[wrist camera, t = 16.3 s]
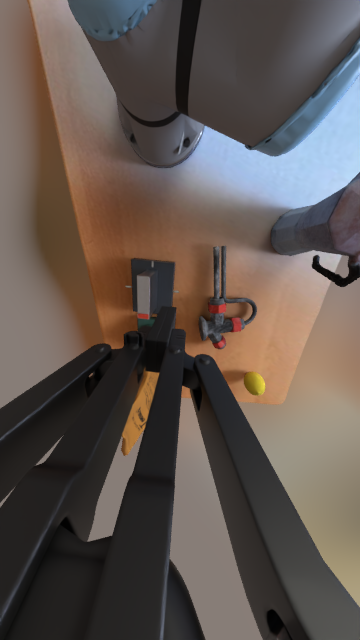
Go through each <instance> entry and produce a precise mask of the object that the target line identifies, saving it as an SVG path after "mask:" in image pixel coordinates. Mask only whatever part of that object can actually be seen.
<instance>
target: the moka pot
mask: <svg viewBox="0 0 360 640" xmlns="http://www.w3.org/2000/svg"><path fill="white" fill-rule="evenodd" d="M271 244H272V246H273V248H274V249H275V250H276V251H277V252H278V253H279V254H283V255H289V256H292V255H296V254H300V253H304V252H308V251H312V250H315V251H321V252H326V253H334V254H340V255H347V256H349V260H348V267H349V274H348V276H347V277H346V278H342V277H341V276H340V275H339V274H335V273H333V272H331V271H330V270H328V269H325V268H323V267H322V266H321V265H320V264H319V258H320V257H319V256H318V255H316V256H314V257H313V264H312V268H313V269H315V270H316V271H317V272H319V273H321V274H322V275H323V276H325V277H327V278H328V279H329V280H331V281H333V282H335V284H336V285H338V286H340V287H345V286H347V285H348V284H350V283H352V282H353V281H354V280H357V278H359V277H360V173H359V174H358V175H357V176H356V177H355V178H354V179H353V180H352V181H351V182H350V183H349V184H348V185H347V186H345V187H344V188H342V189H341V190H339V191H338V192H336V193H334V194H332V195H331V196H329V197H327V198H326V199H324V200H322V201H321V202H319V203H317V204H316V205H311V206H306V207H302V208H297V209H293V210H291V211H289V212H287V213H286V214H284V215H282V216H281V217H280V218H279V219H278V220H277V222H276V223H275V225H274V227H273V228H272V232H271Z"/></svg>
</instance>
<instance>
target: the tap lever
mask: <svg viewBox="0 0 360 640" xmlns="http://www.w3.org/2000/svg"><path fill="white" fill-rule="evenodd" d="M157 280H158V271H155V270H146V271H144V272H143V273H141V274H139V275H137V303H138V318H140V319H150V317H151V315H152V314H153V312H154V310H155V309H156V307H157Z"/></svg>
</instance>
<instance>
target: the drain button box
mask: <svg viewBox="0 0 360 640" xmlns="http://www.w3.org/2000/svg"><path fill="white" fill-rule="evenodd" d="M155 319H156V317H150V319H140V318H138V330H139V328H141V327H142V326H151V327H152V325H153V323H154V321H155Z"/></svg>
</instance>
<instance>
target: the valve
mask: <svg viewBox="0 0 360 640" xmlns="http://www.w3.org/2000/svg"><path fill="white" fill-rule="evenodd" d="M213 256H214V297H212V298H211V299H210V302H209V303H208V308H209V312H210V316H211V321H205V319H204V318H203V316H200V317H199V330H200V336H201V339H202V341H205V340H206V337H207V335H208V337H209V338H210V340H211V341H212V344H213V345H214V347H215V348H217V349H223V348H224V347H225V346H226V341H225V338H224V337H223V336H221V334H220V333H225V332H238V331H241V330H242V329H244V327H245V325H247V324H249V323H250V322H251V321H252V320H253V319H254V318H255V316H256V312H257V307H256V305H255V303H254V302H253V301H252V300H250V299H248V298H238V299H227V298H226V246H221V296H222V297H219V247H213ZM225 302H226V303H238V302H248V303H249V304H250V305H251V306H252V309H253V312H252V315H251V317H250V318H249V319H248V320H246V321H244V320H243V319H240V318H239V317H237V318H230V319H225V320H224V312H226V303H225Z"/></svg>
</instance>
